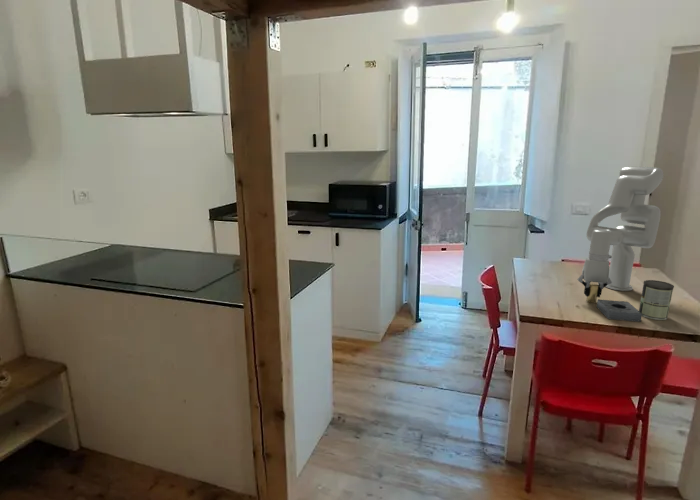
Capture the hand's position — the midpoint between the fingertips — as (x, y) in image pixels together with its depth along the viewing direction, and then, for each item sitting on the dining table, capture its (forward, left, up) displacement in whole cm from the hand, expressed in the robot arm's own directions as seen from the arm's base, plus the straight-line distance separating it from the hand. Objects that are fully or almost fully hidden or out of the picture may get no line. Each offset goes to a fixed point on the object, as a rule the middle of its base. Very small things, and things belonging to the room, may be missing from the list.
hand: (592, 295), depth 194 cm
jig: (+14, +6, -3) cm, 15 cm away
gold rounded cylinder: (0, 0, -3) cm, 3 cm away
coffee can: (+12, +20, -3) cm, 24 cm away
